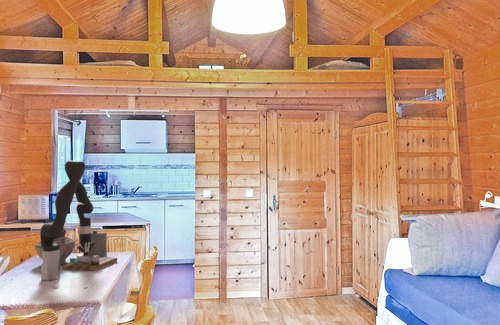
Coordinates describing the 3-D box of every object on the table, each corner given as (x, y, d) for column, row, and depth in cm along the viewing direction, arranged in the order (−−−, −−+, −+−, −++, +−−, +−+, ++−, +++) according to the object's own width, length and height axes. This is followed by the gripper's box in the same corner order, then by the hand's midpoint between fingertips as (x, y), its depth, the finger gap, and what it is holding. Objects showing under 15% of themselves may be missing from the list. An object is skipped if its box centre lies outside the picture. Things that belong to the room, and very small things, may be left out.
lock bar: (101, 263, 261) (100, 255, 261) (94, 265, 257) (94, 257, 257) (81, 259, 272) (81, 252, 272) (75, 261, 268) (75, 253, 268)
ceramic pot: (81, 263, 276) (80, 228, 276) (43, 270, 258) (42, 233, 258) (66, 257, 293) (66, 225, 293) (29, 264, 275) (29, 229, 275)
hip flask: (107, 255, 298) (106, 229, 298) (106, 256, 294) (106, 229, 294) (84, 257, 294) (83, 230, 294) (83, 258, 290) (83, 231, 290)
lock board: (117, 262, 278) (116, 251, 278) (94, 271, 254) (94, 260, 254) (88, 260, 284) (87, 250, 284) (63, 269, 260) (63, 258, 260)
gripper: (80, 234, 263) (81, 260, 264) (97, 231, 275) (97, 256, 275) (73, 233, 267) (73, 259, 267) (90, 230, 279) (90, 255, 279)
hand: (85, 257), depth 271 cm, fingers closed
